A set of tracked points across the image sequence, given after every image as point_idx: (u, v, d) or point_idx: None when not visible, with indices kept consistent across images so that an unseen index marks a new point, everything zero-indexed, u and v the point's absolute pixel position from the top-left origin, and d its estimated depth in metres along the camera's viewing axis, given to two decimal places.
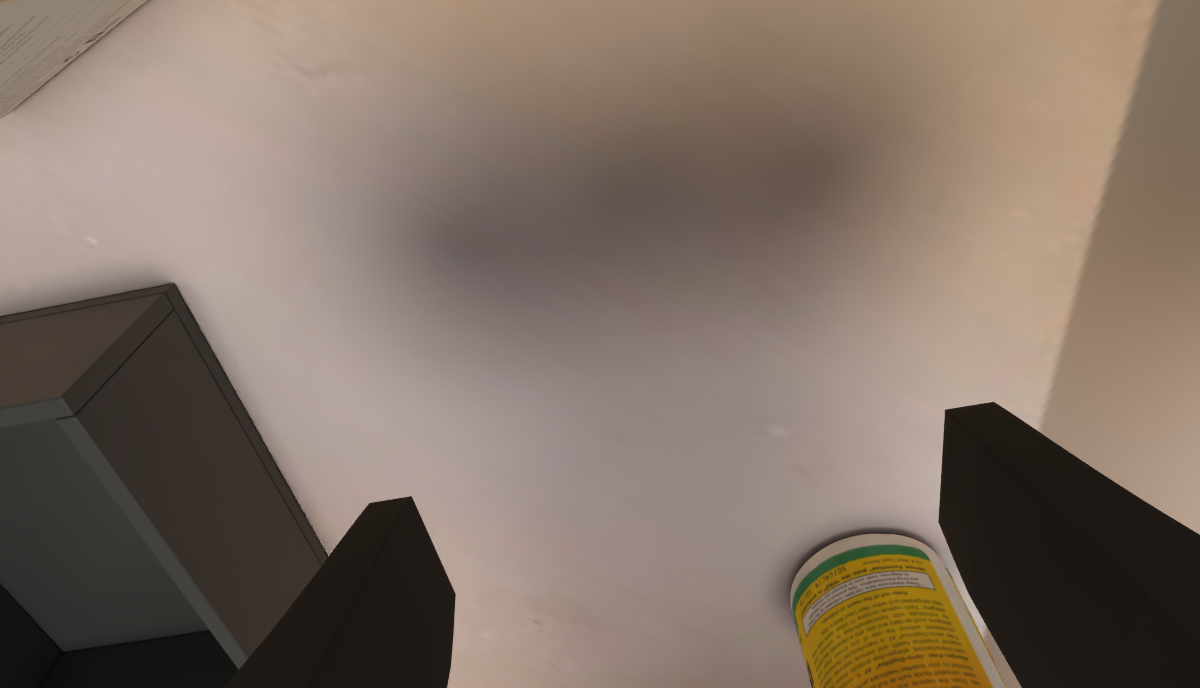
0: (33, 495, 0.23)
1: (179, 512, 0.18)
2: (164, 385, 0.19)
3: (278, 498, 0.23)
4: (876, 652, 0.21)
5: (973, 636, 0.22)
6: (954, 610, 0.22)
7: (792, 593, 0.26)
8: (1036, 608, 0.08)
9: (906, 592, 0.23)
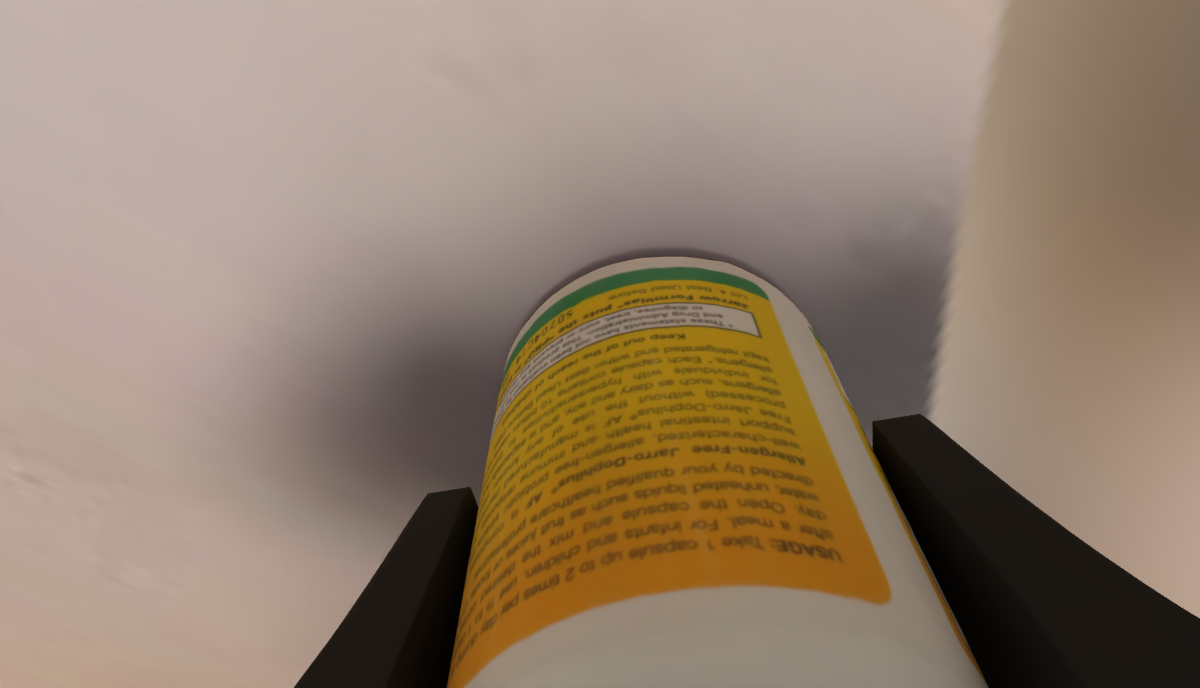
0: None
1: None
2: None
3: None
4: (567, 456, 0.08)
5: (839, 429, 0.09)
6: (798, 374, 0.09)
7: None
8: None
9: (684, 335, 0.09)
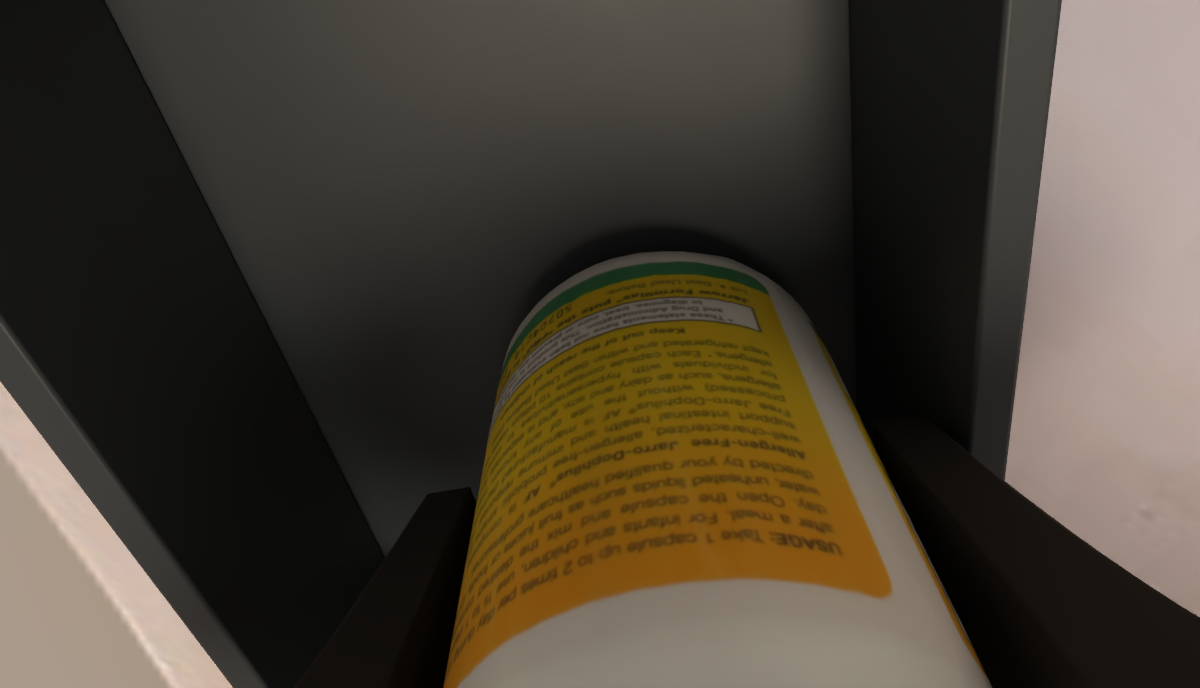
0: (435, 242, 0.12)
1: None
2: None
3: None
4: (565, 450, 0.08)
5: (840, 422, 0.08)
6: (798, 369, 0.09)
7: None
8: None
9: (683, 329, 0.09)
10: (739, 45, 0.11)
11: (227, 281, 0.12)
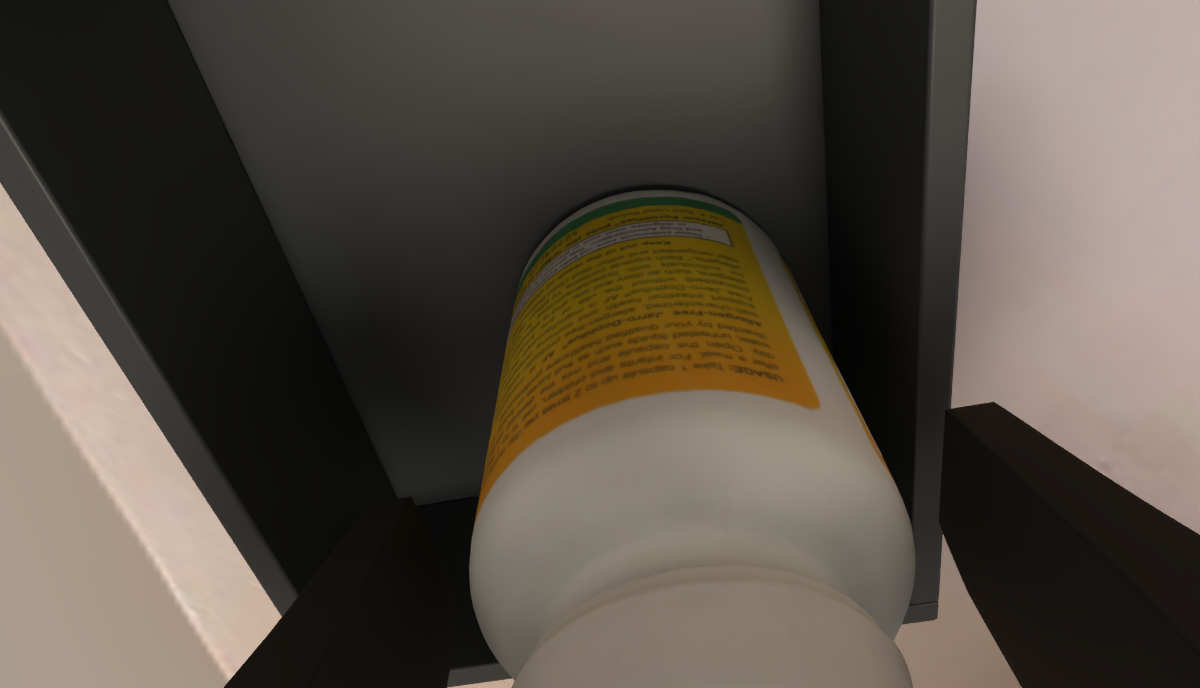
0: (450, 206, 0.14)
1: None
2: None
3: None
4: (574, 324, 0.10)
5: (793, 312, 0.11)
6: (762, 273, 0.11)
7: None
8: (1036, 608, 0.08)
9: (669, 242, 0.11)
10: (722, 26, 0.12)
11: (263, 240, 0.13)
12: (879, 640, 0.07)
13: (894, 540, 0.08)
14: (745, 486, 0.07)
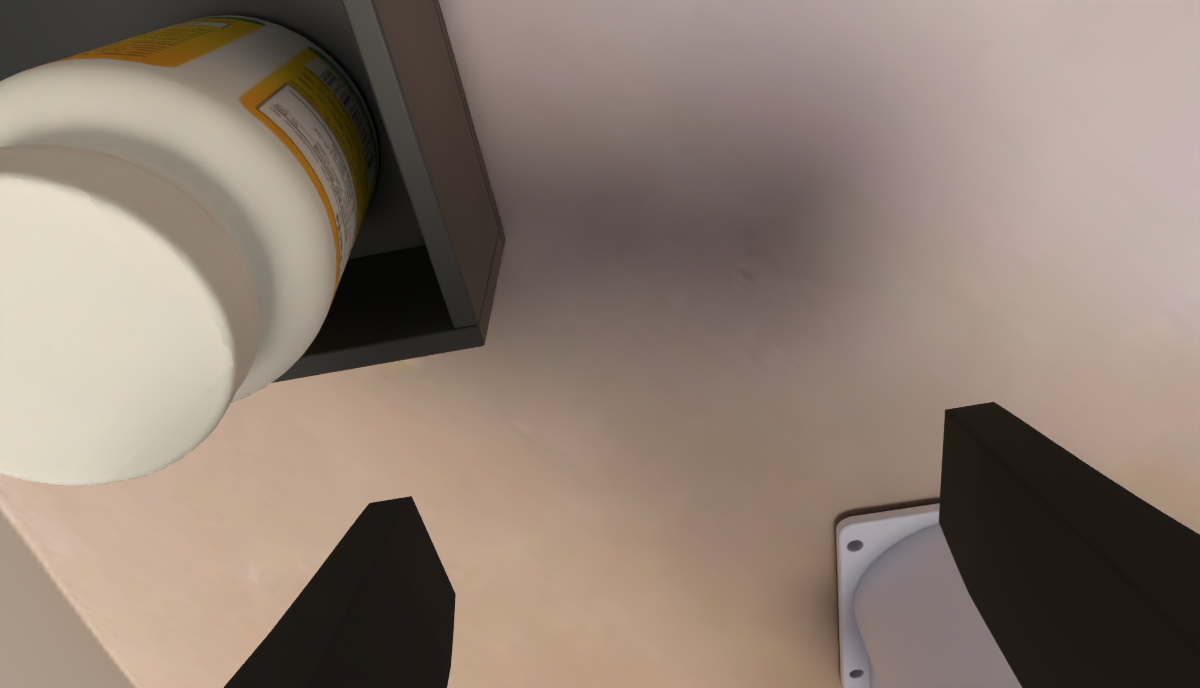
0: None
1: None
2: None
3: None
4: None
5: (247, 53, 0.13)
6: (235, 37, 0.13)
7: None
8: (1036, 608, 0.08)
9: (157, 30, 0.13)
10: None
11: None
12: (141, 177, 0.09)
13: (239, 151, 0.10)
14: (61, 109, 0.09)
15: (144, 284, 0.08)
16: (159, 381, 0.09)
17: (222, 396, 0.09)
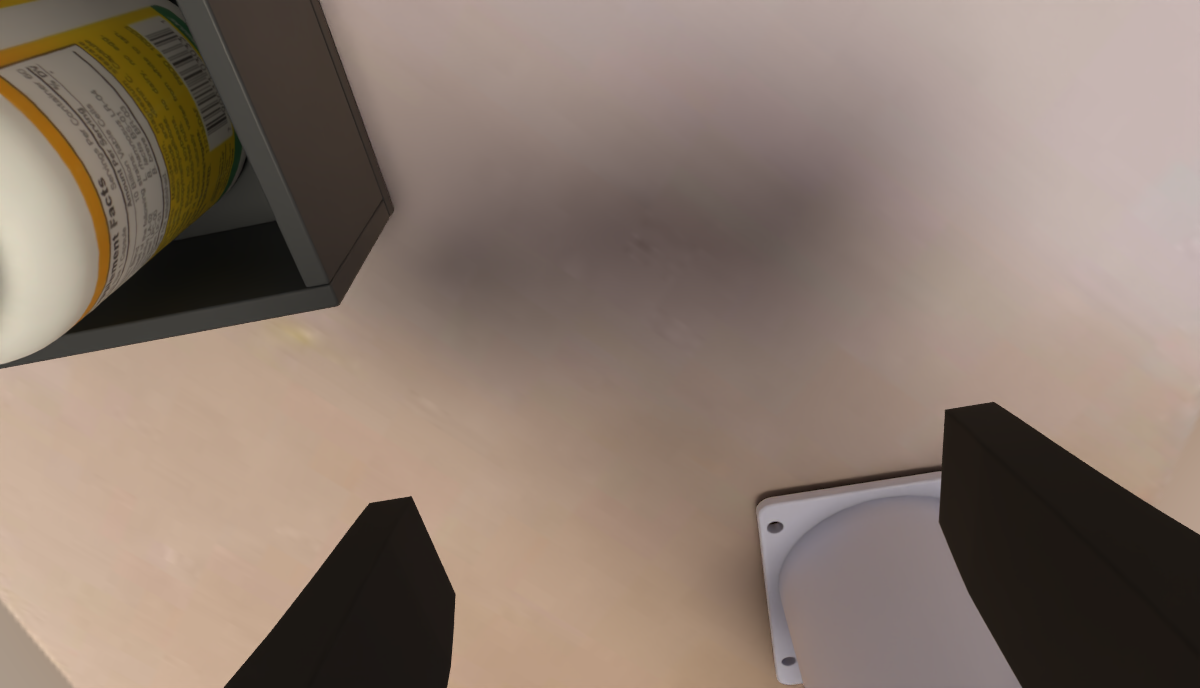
0: None
1: None
2: None
3: None
4: None
5: (40, 12, 0.13)
6: None
7: None
8: (1036, 608, 0.08)
9: None
10: None
11: None
12: None
13: None
14: None
15: None
16: None
17: None
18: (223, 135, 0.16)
